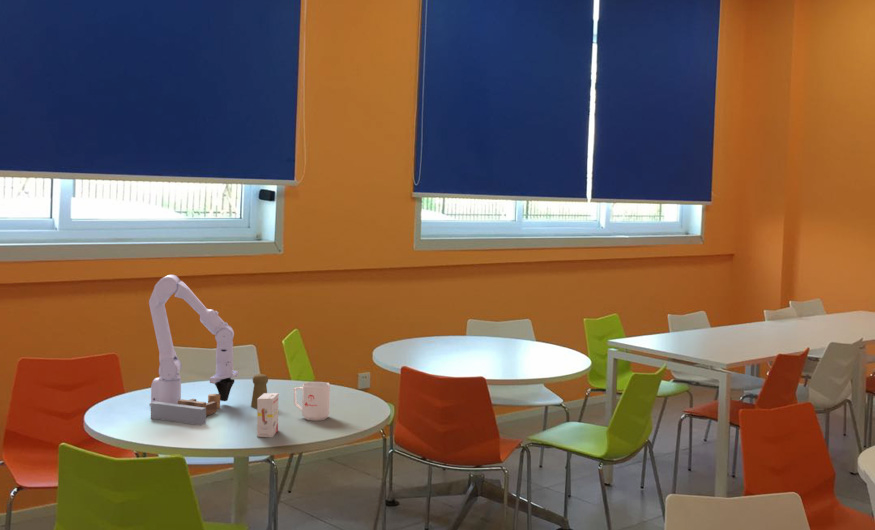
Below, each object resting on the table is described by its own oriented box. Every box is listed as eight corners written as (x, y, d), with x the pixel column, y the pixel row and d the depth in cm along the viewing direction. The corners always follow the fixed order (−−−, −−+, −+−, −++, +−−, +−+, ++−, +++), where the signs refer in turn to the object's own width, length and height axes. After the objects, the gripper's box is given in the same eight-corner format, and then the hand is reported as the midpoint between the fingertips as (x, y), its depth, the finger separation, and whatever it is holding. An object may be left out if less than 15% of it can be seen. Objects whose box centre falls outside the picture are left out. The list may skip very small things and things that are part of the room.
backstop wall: (150, 418, 287) (150, 402, 287) (155, 416, 289) (155, 401, 289) (201, 425, 281) (201, 409, 280) (205, 423, 283) (205, 407, 282)
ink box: (262, 429, 277) (263, 392, 276) (278, 430, 277) (279, 392, 276) (256, 437, 269) (256, 398, 268) (272, 437, 269) (273, 398, 268)
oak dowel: (205, 408, 302) (205, 395, 302) (212, 406, 306) (212, 393, 306) (215, 410, 301) (215, 396, 301) (222, 407, 305) (222, 394, 304)
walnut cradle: (177, 414, 292) (177, 400, 292) (192, 409, 300) (192, 395, 300) (202, 417, 289) (202, 403, 289) (216, 412, 297) (216, 398, 296)
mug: (332, 415, 298) (333, 382, 297) (324, 422, 289) (325, 388, 288) (298, 413, 300) (298, 380, 299) (289, 419, 291) (289, 385, 291)
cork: (264, 408, 305) (265, 376, 304) (248, 407, 306) (248, 375, 305) (271, 405, 311) (272, 373, 310) (255, 403, 312) (255, 372, 311)
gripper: (222, 365, 300) (221, 406, 301) (246, 359, 313) (245, 397, 314) (204, 364, 302) (204, 403, 303) (228, 357, 316) (228, 395, 317)
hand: (224, 400), depth 309 cm, fingers closed
